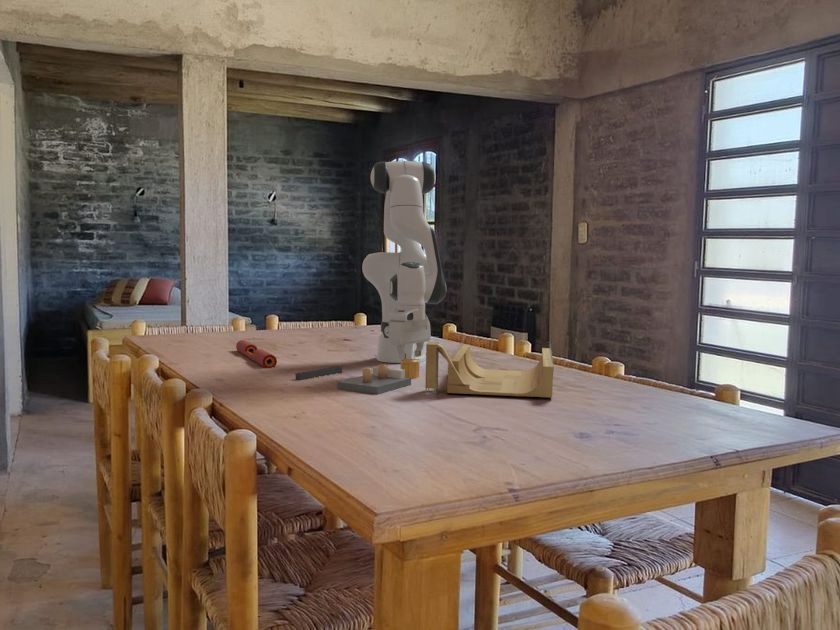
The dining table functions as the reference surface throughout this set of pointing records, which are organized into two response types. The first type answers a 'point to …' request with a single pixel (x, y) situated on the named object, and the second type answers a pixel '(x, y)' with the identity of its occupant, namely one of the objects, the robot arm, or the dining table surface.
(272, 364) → the blood vessel
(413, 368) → the cylinder
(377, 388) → the board
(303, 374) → the dark grey bar
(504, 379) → the skate ramp
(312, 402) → the dining table surface
